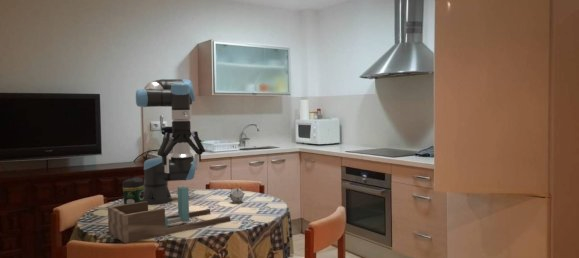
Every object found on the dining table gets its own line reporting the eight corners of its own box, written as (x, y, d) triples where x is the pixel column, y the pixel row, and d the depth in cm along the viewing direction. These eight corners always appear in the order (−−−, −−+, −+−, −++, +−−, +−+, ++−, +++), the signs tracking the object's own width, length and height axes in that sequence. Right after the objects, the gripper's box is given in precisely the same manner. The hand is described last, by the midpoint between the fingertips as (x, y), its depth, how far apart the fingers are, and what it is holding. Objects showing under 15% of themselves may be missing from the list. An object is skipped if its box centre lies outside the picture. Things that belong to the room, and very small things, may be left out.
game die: (239, 210, 213) (241, 197, 207) (224, 204, 215) (226, 191, 209) (246, 199, 220) (248, 186, 214) (232, 193, 222) (234, 180, 216)
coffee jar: (130, 216, 188) (129, 176, 188) (147, 216, 188) (146, 176, 187) (120, 222, 179) (119, 179, 178) (138, 222, 178) (137, 179, 177)
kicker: (149, 224, 172) (148, 188, 172) (179, 219, 181) (179, 184, 180) (163, 231, 162) (162, 193, 161) (194, 225, 170) (193, 189, 169)
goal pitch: (108, 231, 164) (107, 206, 164) (208, 213, 193) (208, 191, 192) (124, 243, 150) (123, 215, 149) (230, 221, 178) (229, 198, 178)
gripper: (155, 121, 162) (157, 175, 163) (212, 119, 178) (213, 168, 179) (148, 121, 168) (149, 173, 169) (203, 119, 184) (204, 167, 185)
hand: (182, 171), depth 174 cm, fingers open, 13 cm apart
